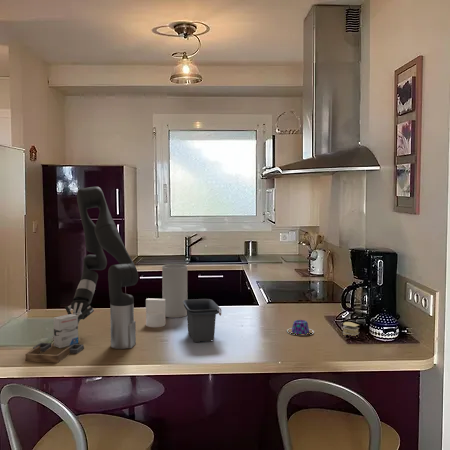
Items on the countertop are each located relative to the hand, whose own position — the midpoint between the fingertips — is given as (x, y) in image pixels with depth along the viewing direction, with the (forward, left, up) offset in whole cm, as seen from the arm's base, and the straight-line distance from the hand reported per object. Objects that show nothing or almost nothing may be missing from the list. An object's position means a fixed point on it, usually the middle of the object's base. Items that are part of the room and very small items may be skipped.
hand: (73, 327), depth 202 cm
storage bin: (-53, -12, -6) cm, 55 cm away
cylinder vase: (-33, -45, -6) cm, 56 cm away
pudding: (-95, -25, -6) cm, 98 cm away
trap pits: (0, +13, -5) cm, 14 cm away
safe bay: (0, +21, -5) cm, 22 cm away
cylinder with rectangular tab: (-28, -27, -6) cm, 39 cm away
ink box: (0, +7, -6) cm, 9 cm away
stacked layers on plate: (-116, -22, -6) cm, 119 cm away
